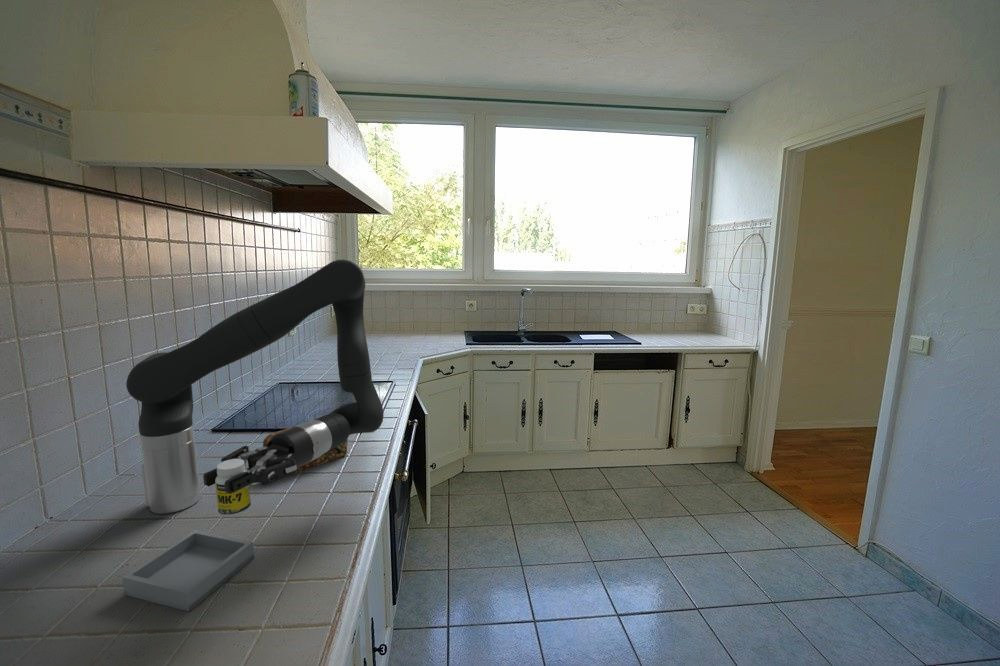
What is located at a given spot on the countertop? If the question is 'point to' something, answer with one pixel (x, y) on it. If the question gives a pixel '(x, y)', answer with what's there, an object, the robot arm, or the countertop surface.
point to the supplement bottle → (235, 501)
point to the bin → (188, 570)
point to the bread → (324, 458)
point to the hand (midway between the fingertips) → (216, 484)
